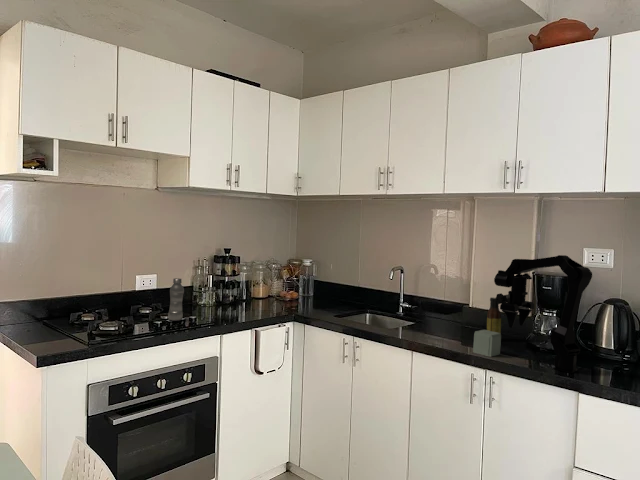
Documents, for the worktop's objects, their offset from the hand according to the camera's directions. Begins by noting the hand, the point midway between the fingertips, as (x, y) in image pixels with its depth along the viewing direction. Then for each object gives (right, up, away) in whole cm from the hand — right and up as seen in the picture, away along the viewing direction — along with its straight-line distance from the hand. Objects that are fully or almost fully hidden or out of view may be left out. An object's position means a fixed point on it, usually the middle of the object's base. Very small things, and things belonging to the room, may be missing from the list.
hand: (516, 326), depth 205 cm
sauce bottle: (0, -12, +29) cm, 31 cm away
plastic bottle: (-150, -3, +29) cm, 153 cm away
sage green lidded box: (-12, -11, +1) cm, 17 cm away
